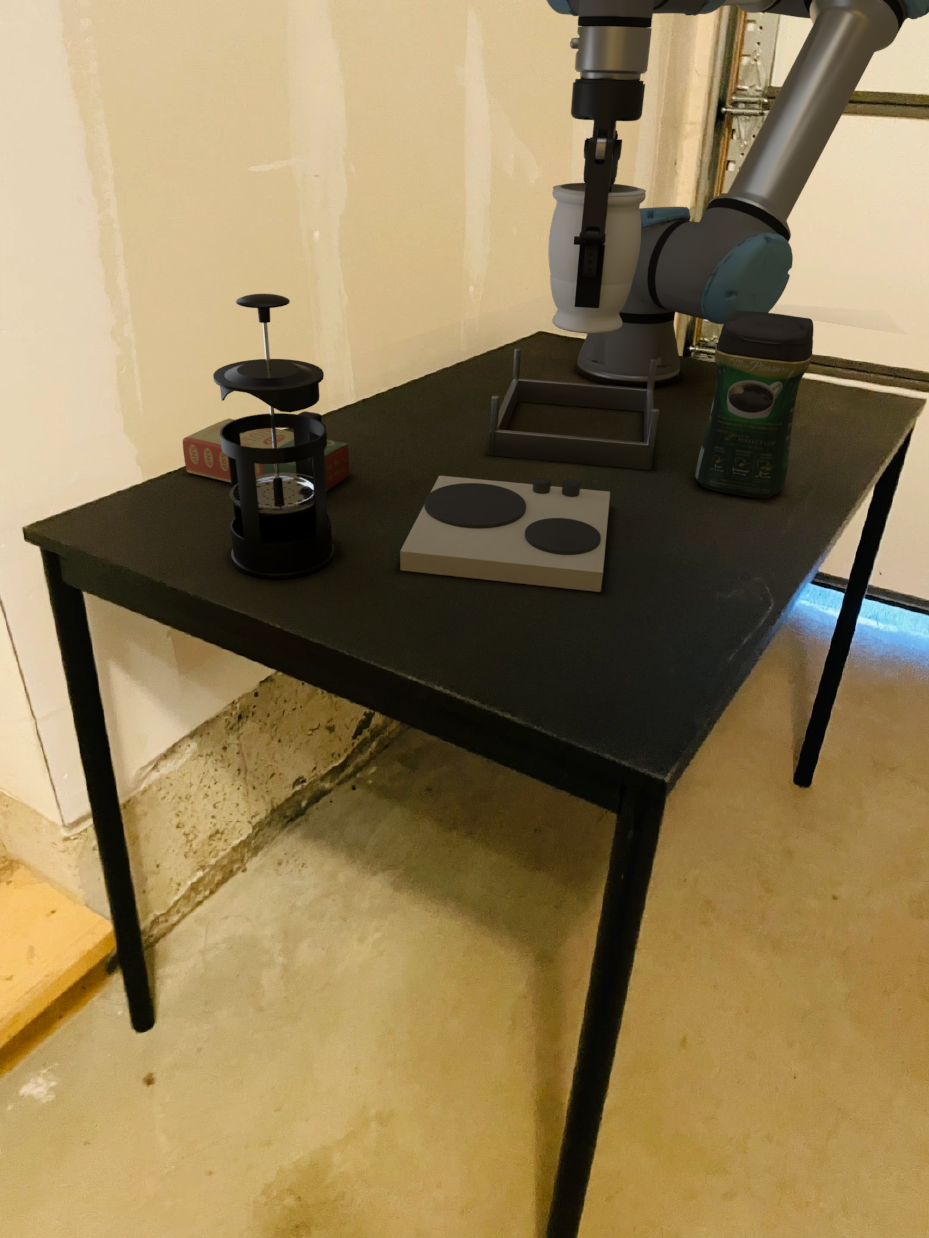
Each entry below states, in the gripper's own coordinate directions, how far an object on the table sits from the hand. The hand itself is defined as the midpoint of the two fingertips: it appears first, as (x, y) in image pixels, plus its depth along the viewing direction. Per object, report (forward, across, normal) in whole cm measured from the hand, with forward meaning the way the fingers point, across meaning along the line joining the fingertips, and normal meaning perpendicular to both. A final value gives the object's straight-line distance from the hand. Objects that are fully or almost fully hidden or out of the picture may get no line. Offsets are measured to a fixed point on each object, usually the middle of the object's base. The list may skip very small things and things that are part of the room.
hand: (589, 296), depth 107 cm
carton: (+16, +23, -32) cm, 43 cm away
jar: (+4, 0, 0) cm, 4 cm away
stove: (+16, +32, -4) cm, 36 cm away
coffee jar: (+17, +13, +19) cm, 28 cm away
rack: (+17, 0, 0) cm, 17 cm away
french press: (+16, +40, -24) cm, 50 cm away
